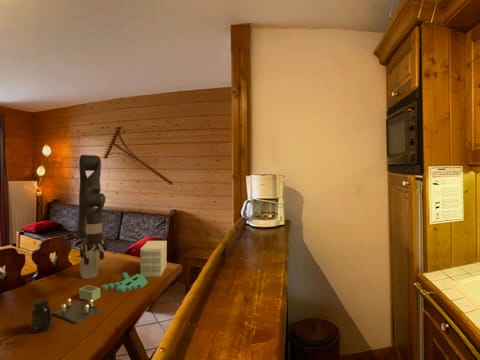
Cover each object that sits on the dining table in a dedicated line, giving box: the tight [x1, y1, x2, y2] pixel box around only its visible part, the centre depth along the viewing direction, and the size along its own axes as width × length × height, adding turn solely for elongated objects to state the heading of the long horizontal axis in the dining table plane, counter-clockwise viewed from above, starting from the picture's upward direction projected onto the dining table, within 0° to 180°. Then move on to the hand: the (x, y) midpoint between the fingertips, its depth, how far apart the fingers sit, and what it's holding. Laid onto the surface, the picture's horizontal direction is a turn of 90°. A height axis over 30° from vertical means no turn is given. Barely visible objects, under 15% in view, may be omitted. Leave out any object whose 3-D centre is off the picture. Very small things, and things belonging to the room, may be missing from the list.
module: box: [78, 284, 101, 302], centre depth 140 cm, size 9×5×5 cm, turn 69°
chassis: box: [53, 297, 102, 325], centre depth 125 cm, size 16×12×5 cm
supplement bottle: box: [30, 297, 52, 334], centre depth 113 cm, size 7×7×12 cm
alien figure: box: [101, 272, 148, 293], centre depth 157 cm, size 20×2×20 cm
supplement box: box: [140, 240, 168, 277], centre depth 175 cm, size 17×13×18 cm
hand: (94, 262), depth 140 cm, fingers open, 8 cm apart
